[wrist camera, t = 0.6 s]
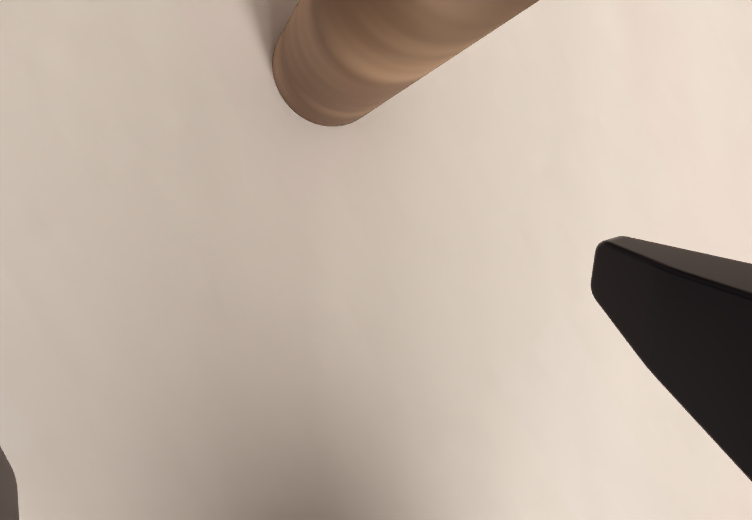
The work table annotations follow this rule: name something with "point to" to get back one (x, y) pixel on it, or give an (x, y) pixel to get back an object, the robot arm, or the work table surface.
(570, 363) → the work table surface
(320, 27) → the pin
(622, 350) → the work table surface
